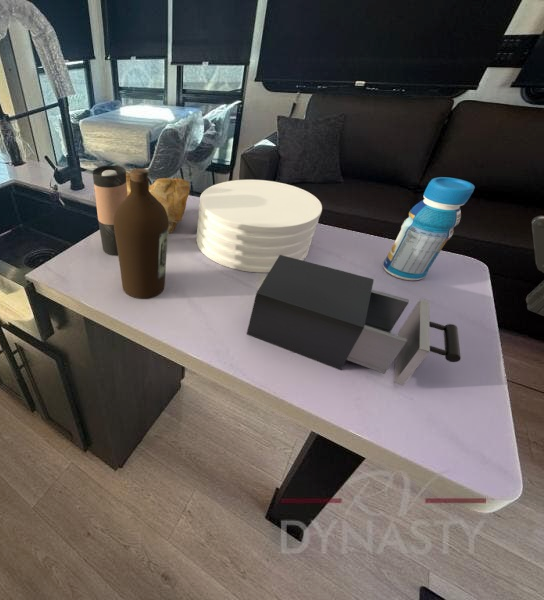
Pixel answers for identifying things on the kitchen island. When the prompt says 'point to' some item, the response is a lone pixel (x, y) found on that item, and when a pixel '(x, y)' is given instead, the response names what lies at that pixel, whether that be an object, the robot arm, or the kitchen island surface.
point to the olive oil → (141, 239)
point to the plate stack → (256, 223)
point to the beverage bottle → (427, 228)
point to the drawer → (400, 337)
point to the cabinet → (311, 310)
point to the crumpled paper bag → (169, 197)
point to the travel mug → (109, 201)
